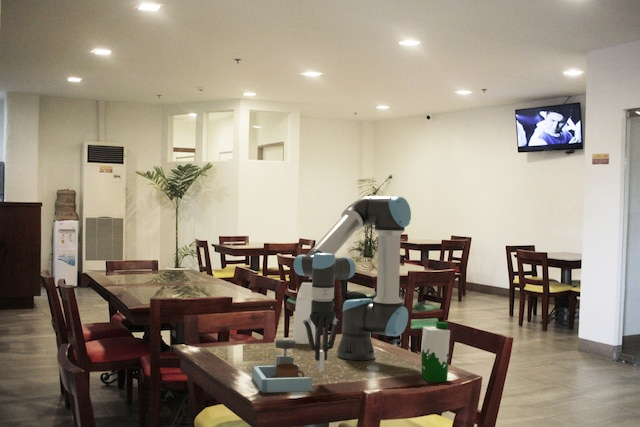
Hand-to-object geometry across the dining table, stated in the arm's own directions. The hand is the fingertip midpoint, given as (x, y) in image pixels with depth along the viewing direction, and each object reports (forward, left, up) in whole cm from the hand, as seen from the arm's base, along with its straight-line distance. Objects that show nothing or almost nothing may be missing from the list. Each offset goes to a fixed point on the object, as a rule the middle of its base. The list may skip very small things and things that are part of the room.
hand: (320, 370), depth 211 cm
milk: (-14, -70, -4) cm, 71 cm away
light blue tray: (+13, -3, -4) cm, 14 cm away
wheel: (+9, -13, +2) cm, 16 cm away
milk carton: (-42, 0, -4) cm, 42 cm away
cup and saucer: (+12, +1, -5) cm, 13 cm away
